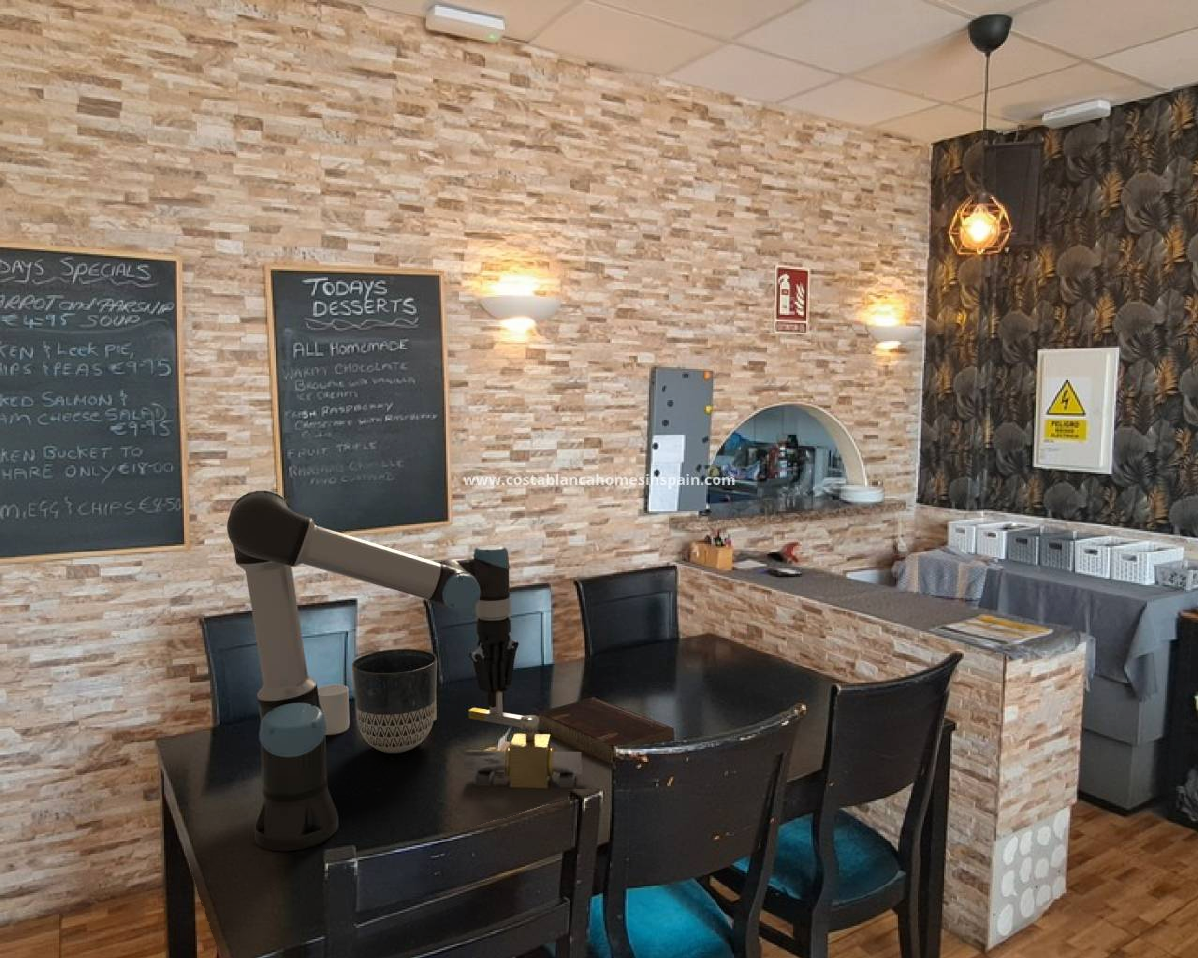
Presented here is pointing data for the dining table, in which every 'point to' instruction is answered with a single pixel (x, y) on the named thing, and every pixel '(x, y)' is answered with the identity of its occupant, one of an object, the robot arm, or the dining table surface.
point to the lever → (505, 718)
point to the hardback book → (601, 727)
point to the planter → (395, 697)
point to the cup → (335, 708)
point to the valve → (525, 762)
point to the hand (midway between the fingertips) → (496, 719)
